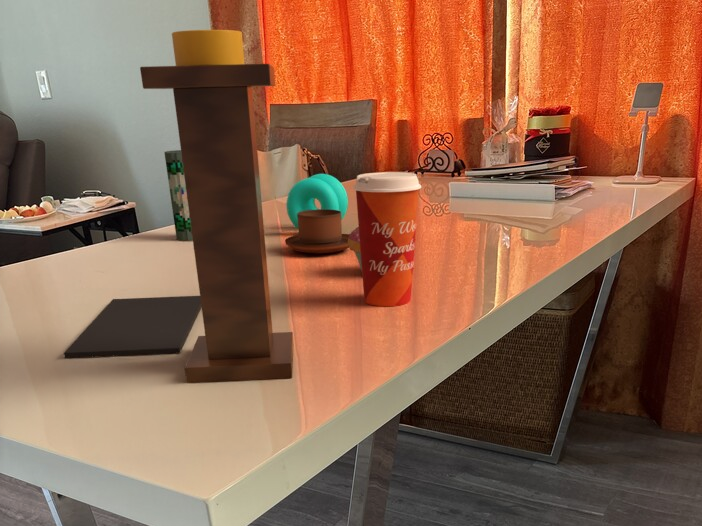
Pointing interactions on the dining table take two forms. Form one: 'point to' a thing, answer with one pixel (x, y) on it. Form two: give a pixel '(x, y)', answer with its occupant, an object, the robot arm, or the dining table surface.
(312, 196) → the donuts
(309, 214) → the cup and saucer
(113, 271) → the dining table surface
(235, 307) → the stand
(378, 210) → the coffee cup
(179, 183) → the can
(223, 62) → the scoop
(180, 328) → the mat
